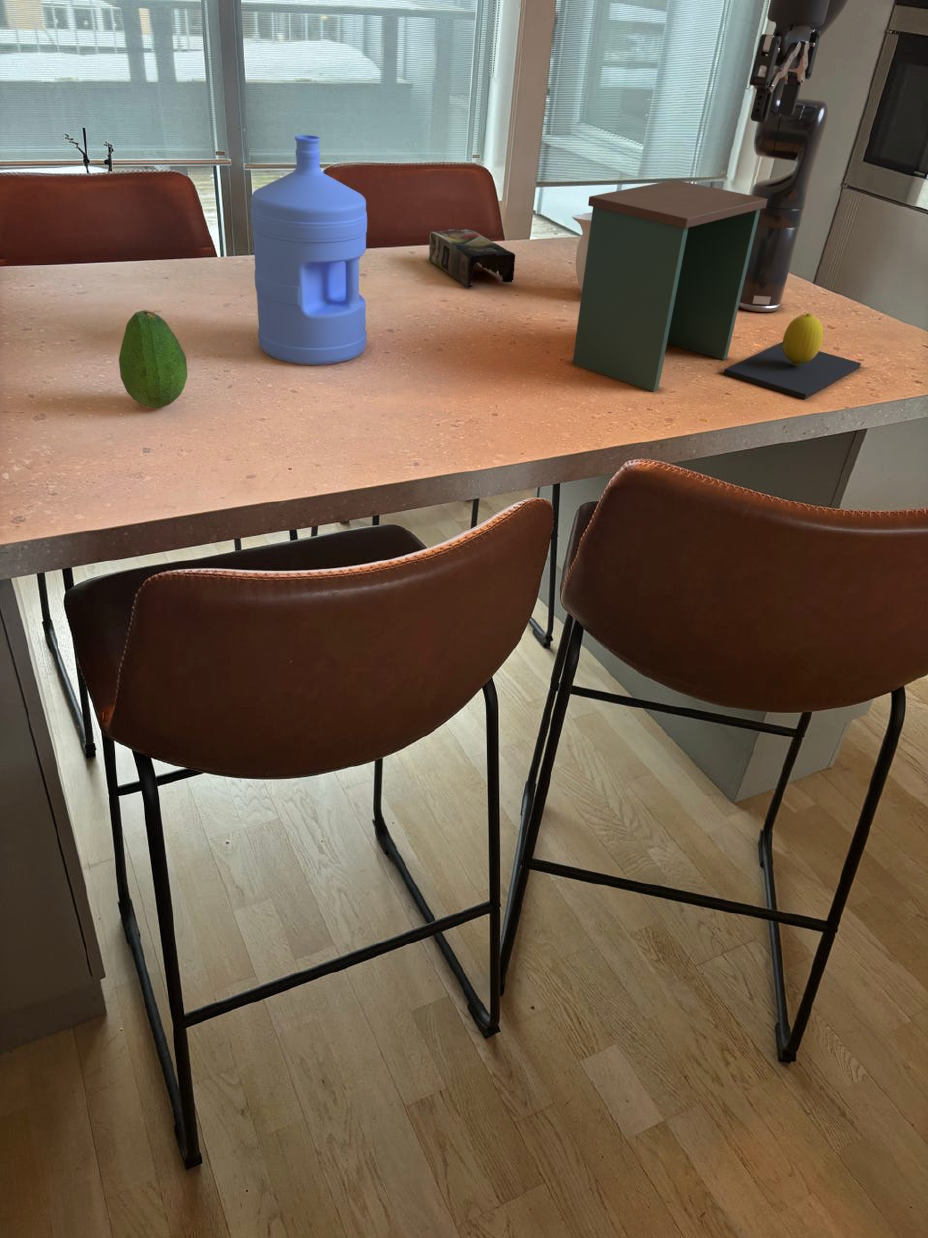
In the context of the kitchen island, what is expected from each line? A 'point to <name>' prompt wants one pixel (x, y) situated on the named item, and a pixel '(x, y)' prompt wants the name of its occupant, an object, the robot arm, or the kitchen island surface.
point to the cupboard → (662, 276)
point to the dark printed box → (469, 255)
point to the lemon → (802, 339)
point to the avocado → (152, 361)
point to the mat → (792, 371)
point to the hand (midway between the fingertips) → (771, 117)
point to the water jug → (309, 264)
